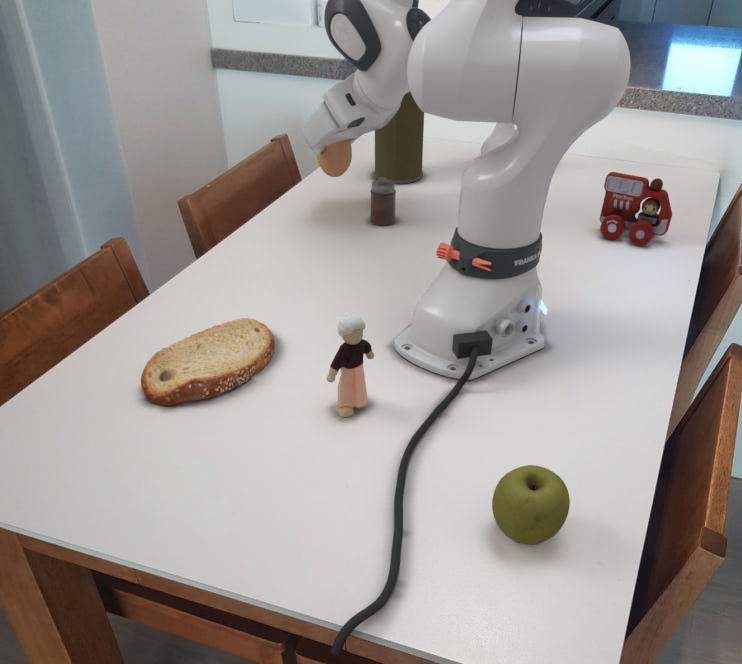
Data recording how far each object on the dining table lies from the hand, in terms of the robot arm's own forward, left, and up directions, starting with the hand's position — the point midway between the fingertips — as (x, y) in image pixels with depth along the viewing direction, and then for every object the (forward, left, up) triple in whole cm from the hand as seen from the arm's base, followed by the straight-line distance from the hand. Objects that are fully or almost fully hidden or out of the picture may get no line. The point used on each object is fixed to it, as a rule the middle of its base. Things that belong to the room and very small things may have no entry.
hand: (331, 146), depth 140 cm
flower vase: (+40, -13, -11) cm, 44 cm away
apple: (-53, -79, -11) cm, 95 cm away
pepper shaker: (0, -13, -11) cm, 17 cm away
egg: (0, -1, -5) cm, 5 cm away
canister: (+21, +1, -11) cm, 24 cm away
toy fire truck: (+24, -51, -11) cm, 57 cm away
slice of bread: (-54, -29, -11) cm, 62 cm away
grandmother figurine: (-48, -50, -11) cm, 70 cm away
